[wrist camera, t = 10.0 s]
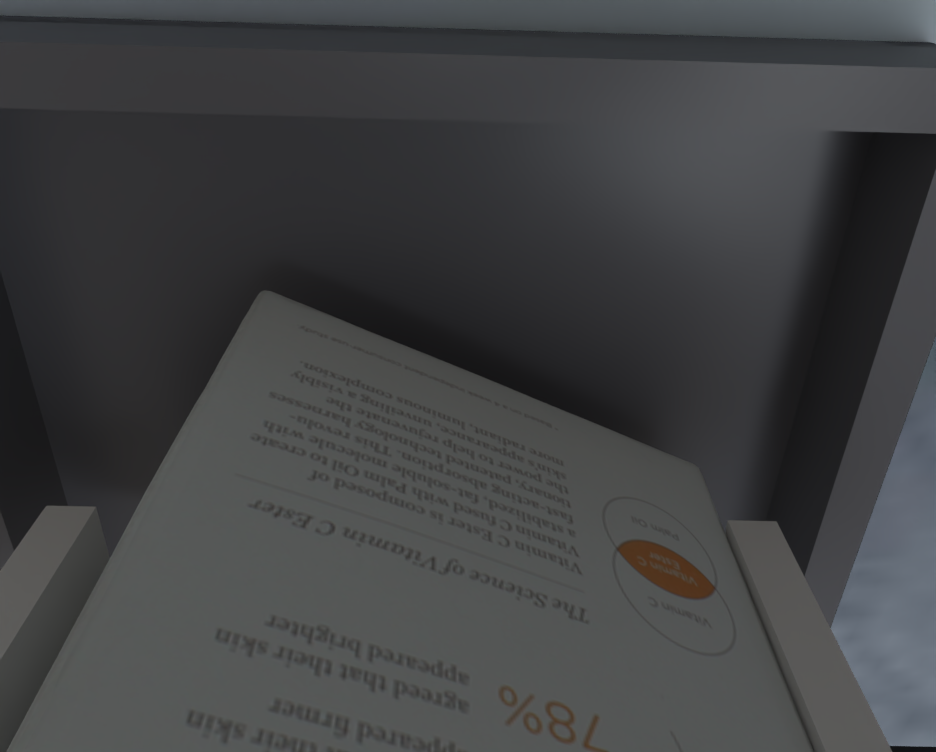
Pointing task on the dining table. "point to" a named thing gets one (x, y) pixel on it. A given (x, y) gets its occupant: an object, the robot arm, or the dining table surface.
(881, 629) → the dining table surface
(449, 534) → the small box
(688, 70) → the holder
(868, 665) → the dining table surface
